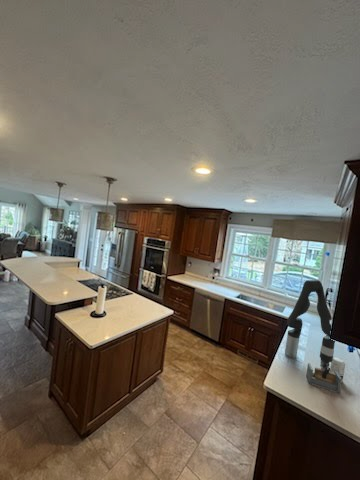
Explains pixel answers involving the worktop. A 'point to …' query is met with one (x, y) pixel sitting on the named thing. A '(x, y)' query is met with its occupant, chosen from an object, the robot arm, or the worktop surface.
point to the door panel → (329, 378)
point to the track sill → (322, 383)
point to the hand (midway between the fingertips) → (323, 376)
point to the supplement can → (338, 367)
